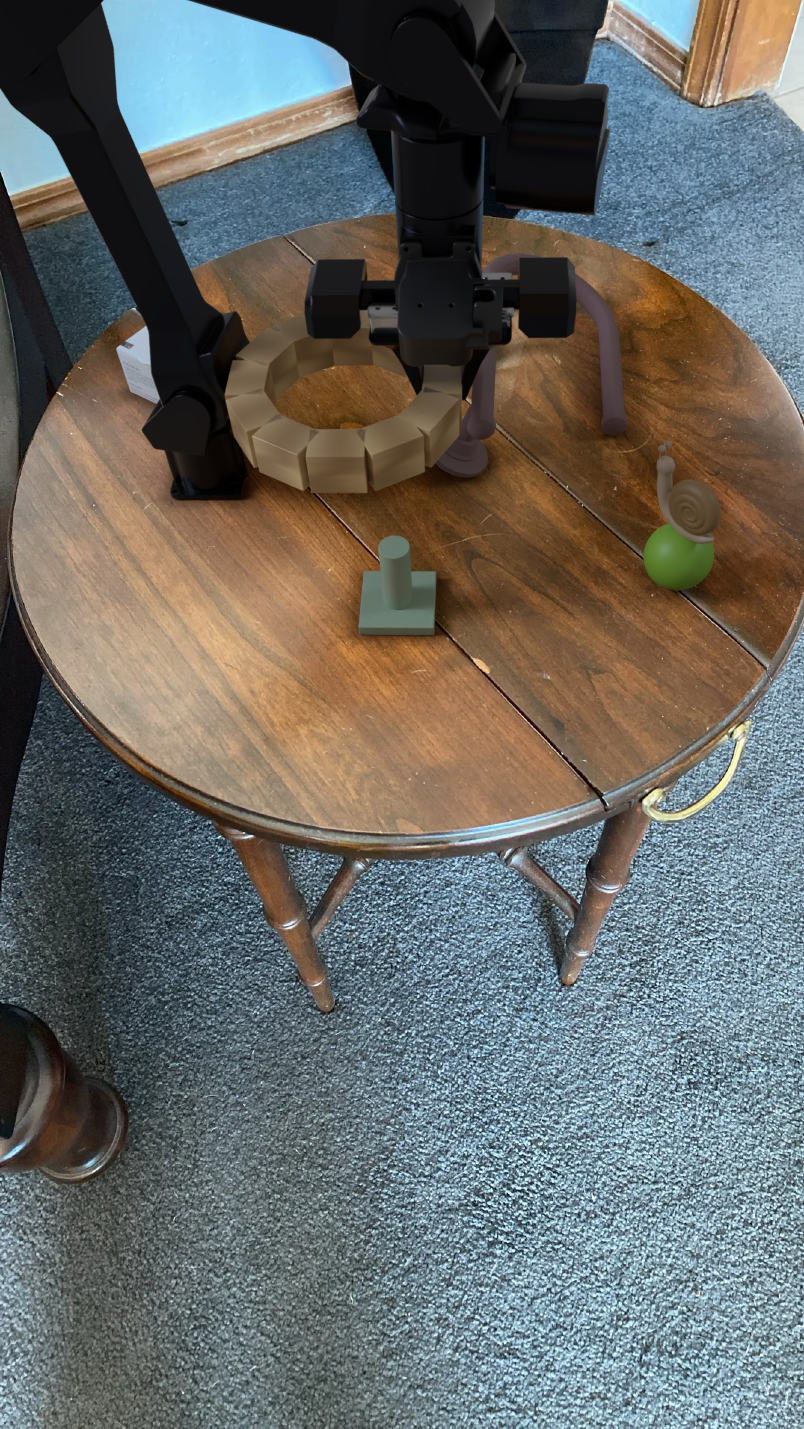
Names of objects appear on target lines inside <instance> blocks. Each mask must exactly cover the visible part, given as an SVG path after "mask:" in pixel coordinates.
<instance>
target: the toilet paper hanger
mask: <svg viewBox="0 0 804 1429" xmlns="http://www.w3.org/2000/svg"><path fill="white" fill-rule="evenodd" d="M535 257H541V256H539V255H535V254H530V253H525V252H524V253H523V252H519V253H518V252H517V253H506V254H503V255H500V256H497V257H494V258H493V259H492V260H490V261H489V263H488V264H487V265H486V266H485V267H484V268H482V273H511V274H512V276H518V265H519V258H535ZM575 279H576V296H577V303H578V305H580V306H581V307H582V308H583V309H584V311H585V312H586V313H587V314H588V315H589V317H590V318H591V320H592V321H593V324H594V326H595V327H596V329H597V335H598V345H599V346H598V348H599V365H600V366H599V367H600V381H601V382H600V384H601V386H600V387H601V400H602V401H601V402H602V403H601V405H602V418H601V421H600V427H601V430H602V432H604V433H605V434H607V435H608V436H612V437H615V436H620V435H621V434H623V433H624V432H626V430H627V428H628V425H629V420H628V416H627V415H626V410H625V398H624V383H623V370H622V369H623V368H622V357H621V356H622V354H621V342H620V332H619V328H618V327H619V326H618V324H617V320H616V317H615V315H614V313H613V312H612V310H611V308H610V306H609V304H608V303H607V301H606V300H605V299H604V298H603V296H602V294H600V293H599V291H598V290H596V289H595V288H594V287H593V286H592V285H591V284H590V283H589V282H588V281H587V280H586V279H584V278H583V277H581V276H580V275H578V274H577V273H575ZM497 347H498V346H496V347H494V348H492V349H490V351H489V352H488V354H487V355H486V357H485V358H484V360H483V362H482V363H481V366H480V368H479V370H478V372H477V375H476V377H475V379H474V382H473V384H472V386H471V400H470V401H471V402H470V405H469V407H468V409H467V411H466V412H465V414H464V416H463V417H462V429H461V430H459V437H458V438H457V439H456V440H455V441H454V442H453V443H452V445H451V446H450V447H449V448H448V449H447V450H446V451H445V453H444V454H443V455H442V456H441V457H440V458H439V459H438V461H437V462H436V463H435V464H434V465H436V466H437V467H438V468H439V469H441V470H442V471H443V472H446V473H447V474H450V475H452V476H455V477H458V478H459V477H460V478H465V479H468V478H474V477H477V476H479V475H480V474H482V473H483V472H484V470H486V468H487V465H488V462H489V455H488V450H487V448H486V446H485V445H484V444H483V442H482V441H484V440H488V439H490V438H491V437H492V436H493V435H494V433H496V428H497V423H496V420H495V419H494V418H495V417H494V416H495V396H496V395H495V391H496V371H497V370H496V368H497Z"/></svg>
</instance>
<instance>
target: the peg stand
mask: <svg viewBox="0 0 804 1429" xmlns="http://www.w3.org/2000/svg"><path fill="white" fill-rule="evenodd" d="M377 550H378V559H379V570H364V571H363V576H362V587H361V596H360V608H359V616H358V617H359V618H358V633H359V635H360V636H434V635H435V624H436V599H437V598H436V597H437V596H436V595H437V571H435V570H427V571H424V570H423V571H422V570H413V571H412V560H411V545H410V543H409V540H408V539H407V538H405V537H403V536H401V535H388V536H386V537H384V538H382V540H380V541H379V544H378V547H377Z"/></svg>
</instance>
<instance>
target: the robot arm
mask: <svg viewBox="0 0 804 1429" xmlns="http://www.w3.org/2000/svg"><path fill="white" fill-rule="evenodd" d="M104 1H105V0H0V91H1V92H2V94H3V96H4V97H5V98H6V100H7V102H8V103H9V104H10V106H12V108H13V109H14V110H16V111H17V112H18V113H20V114H21V116H23V117H25V119H27V120H28V121H29V122H30V123H32V124H34V125H35V126H36V127H37V128H38V129H40V130H41V131H42V132H44V133H45V134H46V135H47V136H48V137H49V138H50V139H51V141H52V142H53V144H54V145H55V148H56V150H57V151H58V154H59V155H60V158H61V159H62V161H63V163H64V165H65V167H66V169H67V172H68V173H69V175H70V177H71V179H72V181H73V183H74V185H75V187H76V190H77V191H78V193H79V195H80V197H81V199H82V201H83V203H84V205H85V207H86V209H87V211H88V213H89V215H90V217H91V219H92V220H93V223H94V225H95V227H96V228H97V230H98V233H99V234H100V237H101V238H102V240H103V242H104V244H105V246H106V249H107V250H108V253H109V254H110V256H111V258H112V260H113V262H114V264H115V267H116V269H117V270H118V272H119V274H120V276H121V278H122V280H123V282H124V285H125V286H126V288H127V290H128V292H129V294H130V296H131V298H132V300H133V302H134V304H135V307H136V309H137V310H138V312H139V314H140V317H141V318H142V320H143V322H144V324H145V326H147V329H148V333H149V348H150V364H151V375H152V378H153V381H154V384H155V386H156V389H157V392H158V395H159V398H160V399H159V401H158V402H157V404H156V403H155V406H154V408H153V409H152V411H151V412H150V414H149V416H148V418H147V419H146V421H145V423H144V425H143V426H142V428H141V432H142V435H144V437H145V438H146V440H147V441H148V442H149V444H150V446H152V448H153V449H154V450H159V451H164V454H165V459H166V461H167V464H168V468H169V470H170V472H171V476H172V482H171V487H170V491H169V493H170V497H171V498H172V499H175V500H194V499H195V500H199V499H200V500H237V499H240V498H241V497H242V496H243V492H244V487H245V482H246V480H248V478H249V477H250V472H251V468H252V464H251V462H250V461H249V459H248V457H247V456H246V454H245V453H244V451H243V450H242V448H241V446H240V445H239V443H238V442H237V440H236V439H235V437H234V434H233V430H232V426H231V421H230V417H229V413H228V409H227V404H226V398H225V391H226V387H227V383H228V378H229V374H230V369H231V365H232V361H233V360H236V355H237V354H238V353H239V352H240V351H241V350H242V349H243V348H244V347H246V346H247V345H248V344H249V343H250V342H251V341H250V340H249V338H248V337H247V334H246V332H245V328H244V325H243V321H242V317H241V315H240V314H239V312H237V311H236V310H234V311H230V312H227V313H222V312H221V311H220V310H218V309H217V308H216V307H214V306H213V305H211V304H210V303H208V302H207V301H206V299H205V298H204V297H203V295H202V292H201V290H200V288H199V286H198V284H197V281H196V279H195V277H194V275H193V273H192V270H191V268H190V266H189V263H188V261H187V259H186V257H185V254H184V252H183V249H182V248H181V245H180V243H179V241H178V238H177V236H176V233H175V232H174V229H173V226H172V225H171V223H170V220H169V218H168V216H167V213H166V211H165V209H164V206H163V205H162V202H161V199H160V198H159V195H158V193H157V191H156V189H155V186H154V184H153V182H152V180H151V177H150V175H149V173H148V170H147V168H146V166H145V164H144V162H143V159H142V157H141V154H140V153H139V150H138V148H137V146H136V143H135V141H134V139H133V137H132V135H131V132H130V130H129V127H128V126H127V125H128V124H127V123H126V121H125V119H124V116H123V114H122V112H121V108H120V106H119V101H118V89H117V88H118V86H117V76H116V74H117V73H116V59H115V48H114V43H113V39H112V35H111V32H110V28H109V25H108V22H107V18H106V14H105V11H104V7H103V4H102V3H103V2H104ZM188 1H189V2H192V3H195V4H198V5H202V6H204V7H208V8H210V9H214V10H218V11H221V12H224V13H228V14H231V15H234V16H238V17H241V18H245V19H247V20H251V21H254V22H257V23H260V24H264V25H267V26H270V27H275V28H277V29H280V30H283V31H287V32H290V33H292V34H293V33H294V34H298V35H299V36H304V37H307V38H310V39H313V40H316V41H318V42H319V43H321V44H323V45H325V46H327V47H329V48H331V49H333V50H335V52H336V53H338V54H339V55H340V57H341V58H343V59H344V60H345V61H346V62H347V63H348V64H349V65H350V66H351V67H352V68H353V69H354V70H355V71H357V72H358V73H359V74H360V75H361V76H362V77H364V78H366V79H368V80H370V81H372V82H375V83H376V84H378V85H376V87H375V88H373V89H372V90H371V91H370V92H369V94H368V96H367V98H366V99H365V101H364V103H363V105H362V107H361V108H360V110H359V113H358V114H357V116H356V119H355V123H356V125H357V127H359V128H360V129H365V130H378V131H389V132H390V133H391V134H390V136H391V150H392V151H391V152H392V154H391V155H392V167H393V168H392V169H393V170H392V172H393V186H394V188H393V190H394V212H395V230H396V247H397V248H396V249H397V264H396V267H395V269H394V270H395V271H394V277H393V278H387V279H384V280H383V279H382V280H381V279H377V280H376V279H375V280H373V279H372V280H371V279H369V280H368V278H369V276H368V264H367V261H366V259H365V258H340V259H339V258H334V259H333V258H332V259H331V258H330V259H328V258H326V259H325V258H323V259H320V258H319V259H316V262H314V264H313V265H312V267H311V268H310V271H309V277H308V282H307V287H306V291H305V292H306V293H305V297H304V313H305V320H306V327H307V334H308V335H310V336H311V337H313V338H314V339H351V338H352V337H353V336H354V335H355V334H356V333H357V332H358V331H359V330H360V328H361V317H360V310H367V311H368V318H370V331H369V341H370V343H371V344H372V345H374V346H384V347H387V348H389V349H391V350H392V351H393V352H394V354H395V355H396V357H397V358H398V360H399V361H400V363H401V365H402V366H403V368H404V370H405V373H406V375H407V377H408V379H409V380H408V379H407V380H408V381H409V383H410V385H411V387H412V389H413V391H414V393H415V396H417V395H418V394H419V393H420V392H421V391H422V383H423V367H424V366H423V365H449V366H451V367H458V366H462V378H461V383H462V401H466V400H467V398H468V396H469V393H470V391H471V390H472V384H473V382H474V379H475V377H476V375H477V372H478V370H479V368H480V366H481V363H482V362H483V360H484V358H485V357H486V355H487V354H488V352H489V351H490V349H492V348H494V347H496V346H497V347H498V346H499V347H500V346H507V345H509V344H510V343H511V342H512V339H513V318H515V310H518V318H517V319H518V320H517V329H518V330H519V331H521V333H523V335H525V336H526V337H527V338H528V339H567V338H568V337H570V336H572V335H573V334H574V333H575V327H576V326H575V325H576V318H577V306H578V305H577V303H578V302H577V296H576V279H575V274H576V267H575V265H574V264H573V263H572V261H571V260H570V259H569V257H568V256H559V257H558V256H557V257H556V256H551V257H550V256H548V257H543V256H540V257H535V258H519V265H518V275H517V279H516V278H513V275H512V274H511V273H482V270H483V231H484V230H483V229H484V227H483V225H484V220H483V219H484V185H485V184H484V182H485V180H484V179H485V140H486V138H490V143H489V156H488V157H489V158H488V184H489V188H490V189H493V190H494V192H495V195H494V196H495V203H496V204H501V205H504V207H505V208H506V209H514V210H515V209H516V210H526V211H537V212H551V213H560V214H572V215H583V216H596V214H597V211H598V208H599V203H600V198H601V193H602V187H603V182H604V176H605V170H606V169H605V168H606V165H607V164H606V162H607V158H608V150H609V149H608V148H609V143H610V142H609V141H610V133H611V129H610V128H608V120H609V107H608V104H609V103H608V102H609V94H610V87H609V86H608V84H606V83H594V82H593V83H591V82H588V83H581V84H576V85H566V84H565V85H564V84H563V85H562V84H549V83H548V84H547V83H531V82H523V77H524V74H525V73H526V72H525V71H526V68H527V62H526V60H525V59H524V57H523V55H522V53H521V52H520V50H519V48H518V46H517V45H516V43H515V41H514V40H513V38H512V37H511V35H510V33H509V31H508V29H507V28H506V26H505V25H504V22H503V21H502V20H501V18H500V16H499V15H498V13H497V12H496V9H495V7H496V6H495V5H496V4H495V3H496V0H187V2H188ZM475 65H477V66H478V67H480V68H481V69H482V74H481V75H480V78H478V76H477V74H476V73H475V71H474V68H475ZM497 347H496V348H497Z"/></svg>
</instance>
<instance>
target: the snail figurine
mask: <svg viewBox="0 0 804 1429" xmlns="http://www.w3.org/2000/svg"><path fill="white" fill-rule="evenodd" d="M672 446H673V443H672V441H671V440H666V441H665V442H664V444H661V445H659V447H658V450H657V451H658V452H659V458H658V459H657V463H656V471H657V477H656V478H657V479H656V493H657V501H658V506H659V510H660V512H661V515H662V516H663V517H664V519H665V520H666V521H667V522H668V523H666V524H663V525H661V526H660V527H659V528H657V529H656V530H654V532H653V533H651V535H650V536H649V538H648V539H647V541H646V544H645V545H644V549H643V558H642V559H643V565H644V568H645V571H646V573H647V575H648V577H649V578H650V580H652V581H653V582H654V583H655V584H656V585H658V586H659V587H661V588H663V589H666V590H669V591H685V590H688V589H692V588H693V587H696V586H697V585H699V584H700V583H701V582H703V581H704V580H705V579H706V577H707V576H708V575H709V573H711V570H712V568H713V565H714V562H715V561H714V560H715V548H714V544H713V542H714V541H715V537H714V536H713V535H712V534H711V533H712V532H714V531H715V530H716V529H717V528H718V526H719V525H720V522H721V517H722V511H721V510H722V509H721V505H720V501H719V500H718V498H717V496H716V495H715V492H713V490H712V489H711V488H710V487H709V486H707V485H706V484H705V483H703V482H701V481H699V480H695V479H684V480H683V479H682V480H681V481H678V482H677V483H675V485H674V483H673V482H674V480H673V473H674V471H675V469H676V462H675V460H674V459H673V457H672V456H669V455H667V451H668V449H670V448H671V447H672ZM662 453H664V455H662Z"/></svg>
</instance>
